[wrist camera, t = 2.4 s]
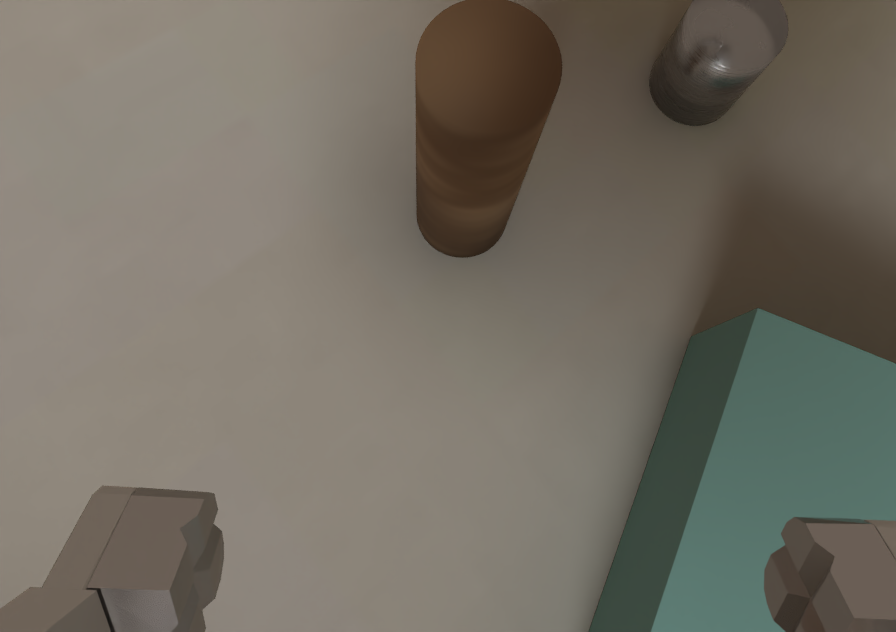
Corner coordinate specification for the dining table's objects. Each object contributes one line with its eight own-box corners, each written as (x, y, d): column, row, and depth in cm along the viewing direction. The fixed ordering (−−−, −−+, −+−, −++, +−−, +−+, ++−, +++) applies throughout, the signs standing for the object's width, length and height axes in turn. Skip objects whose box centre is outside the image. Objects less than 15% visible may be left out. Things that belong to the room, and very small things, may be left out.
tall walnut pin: (402, 236, 25) (391, 98, 15) (437, 157, 26) (449, -24, 16) (486, 271, 25) (530, 154, 15) (520, 191, 26) (582, 29, 16)
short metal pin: (637, 106, 27) (675, 46, 23) (665, 34, 27) (707, -37, 23) (719, 138, 26) (770, 83, 23) (745, 65, 27) (800, -1, 23)
